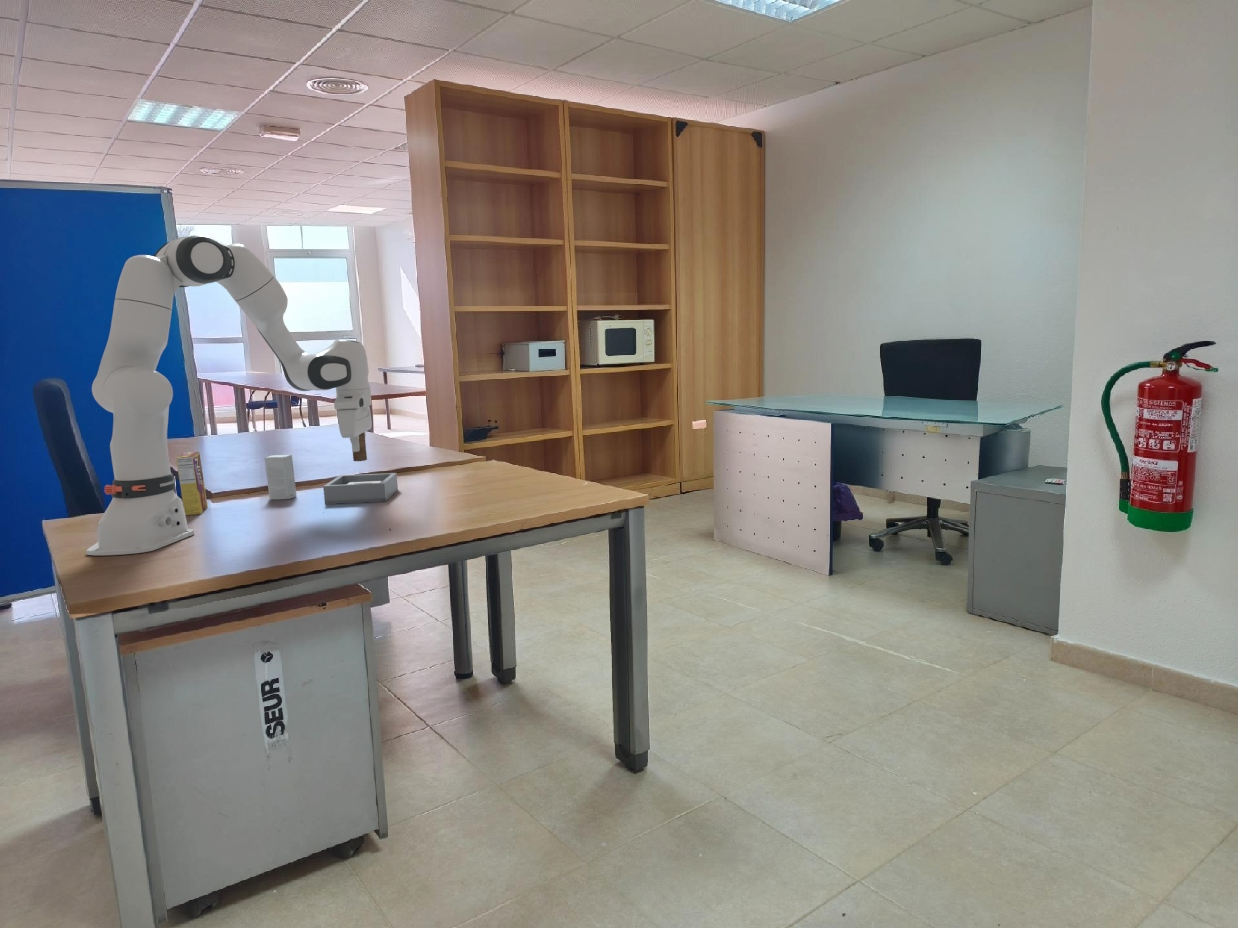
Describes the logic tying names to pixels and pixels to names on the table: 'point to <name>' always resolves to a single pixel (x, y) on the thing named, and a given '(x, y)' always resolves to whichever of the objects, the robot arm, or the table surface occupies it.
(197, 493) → the candy box
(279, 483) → the skincare box
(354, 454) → the peg
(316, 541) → the table surface
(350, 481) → the tray
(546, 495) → the table surface
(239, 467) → the table surface
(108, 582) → the table surface
